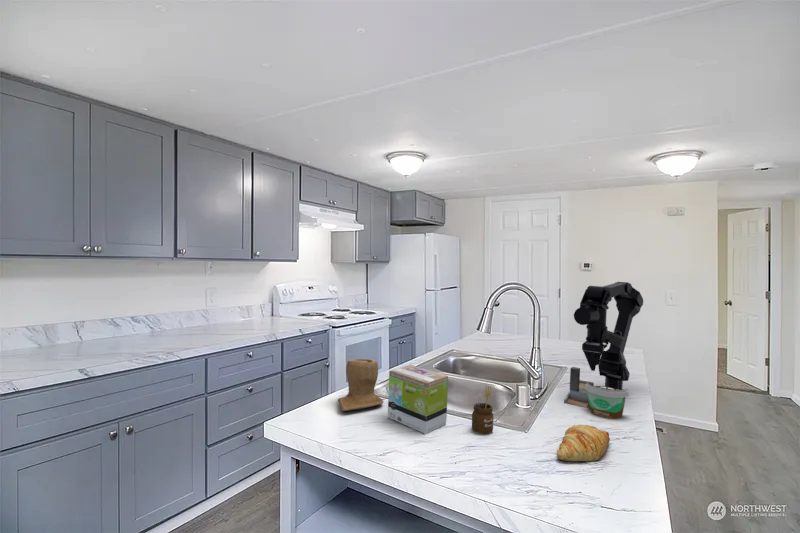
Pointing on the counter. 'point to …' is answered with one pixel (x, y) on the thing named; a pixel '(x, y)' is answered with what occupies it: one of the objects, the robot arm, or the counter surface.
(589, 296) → the robot arm
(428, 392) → the tea box
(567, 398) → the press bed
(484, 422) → the utensil holder
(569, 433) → the croissant
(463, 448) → the counter surface
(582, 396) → the block
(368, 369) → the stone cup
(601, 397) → the food container
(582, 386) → the nut
